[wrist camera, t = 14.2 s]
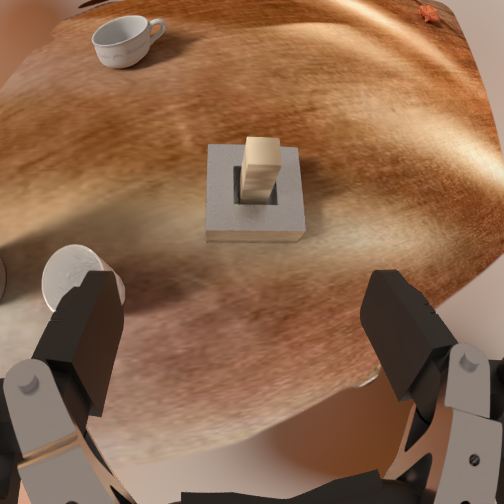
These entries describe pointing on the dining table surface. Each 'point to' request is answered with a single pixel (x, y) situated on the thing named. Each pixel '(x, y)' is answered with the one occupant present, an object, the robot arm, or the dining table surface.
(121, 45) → the teacup
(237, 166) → the grey square socket block
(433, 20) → the footed terracotta jar
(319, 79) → the dining table surface
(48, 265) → the white cup
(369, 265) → the dining table surface
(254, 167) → the square wooden peg
